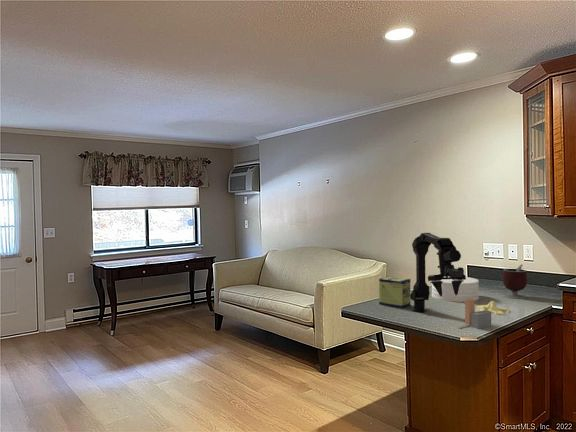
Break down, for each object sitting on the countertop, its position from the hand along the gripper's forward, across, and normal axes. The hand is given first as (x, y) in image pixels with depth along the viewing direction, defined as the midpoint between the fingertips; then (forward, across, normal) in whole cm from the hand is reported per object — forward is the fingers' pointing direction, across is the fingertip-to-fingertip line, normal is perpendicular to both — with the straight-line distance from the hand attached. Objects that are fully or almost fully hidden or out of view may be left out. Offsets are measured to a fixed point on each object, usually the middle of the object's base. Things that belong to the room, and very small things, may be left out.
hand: (448, 295), depth 212 cm
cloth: (+11, +43, +18) cm, 47 cm away
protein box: (+5, +4, +51) cm, 52 cm away
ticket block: (+16, +10, -4) cm, 19 cm away
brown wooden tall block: (+14, +13, +2) cm, 19 cm away
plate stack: (+2, +51, +54) cm, 74 cm away
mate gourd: (+4, +86, +39) cm, 95 cm away
